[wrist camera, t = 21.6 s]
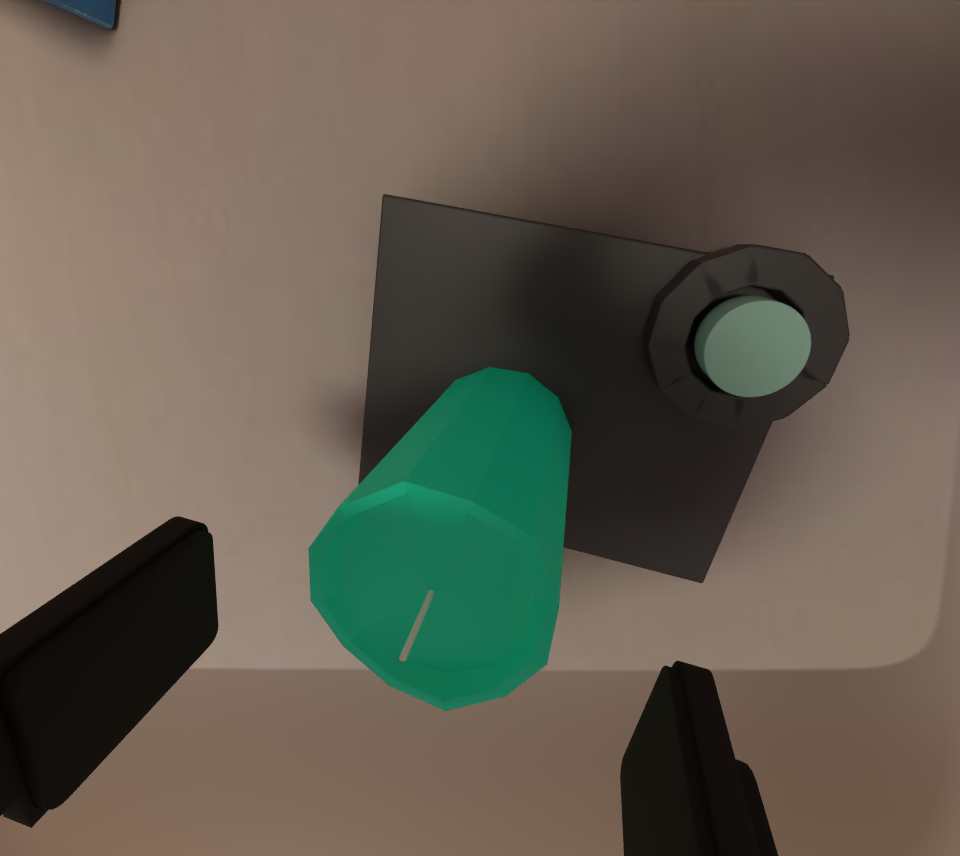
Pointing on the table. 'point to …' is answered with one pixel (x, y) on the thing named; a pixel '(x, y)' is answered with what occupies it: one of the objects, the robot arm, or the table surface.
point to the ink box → (90, 10)
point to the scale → (593, 362)
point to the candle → (454, 545)
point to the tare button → (752, 345)
